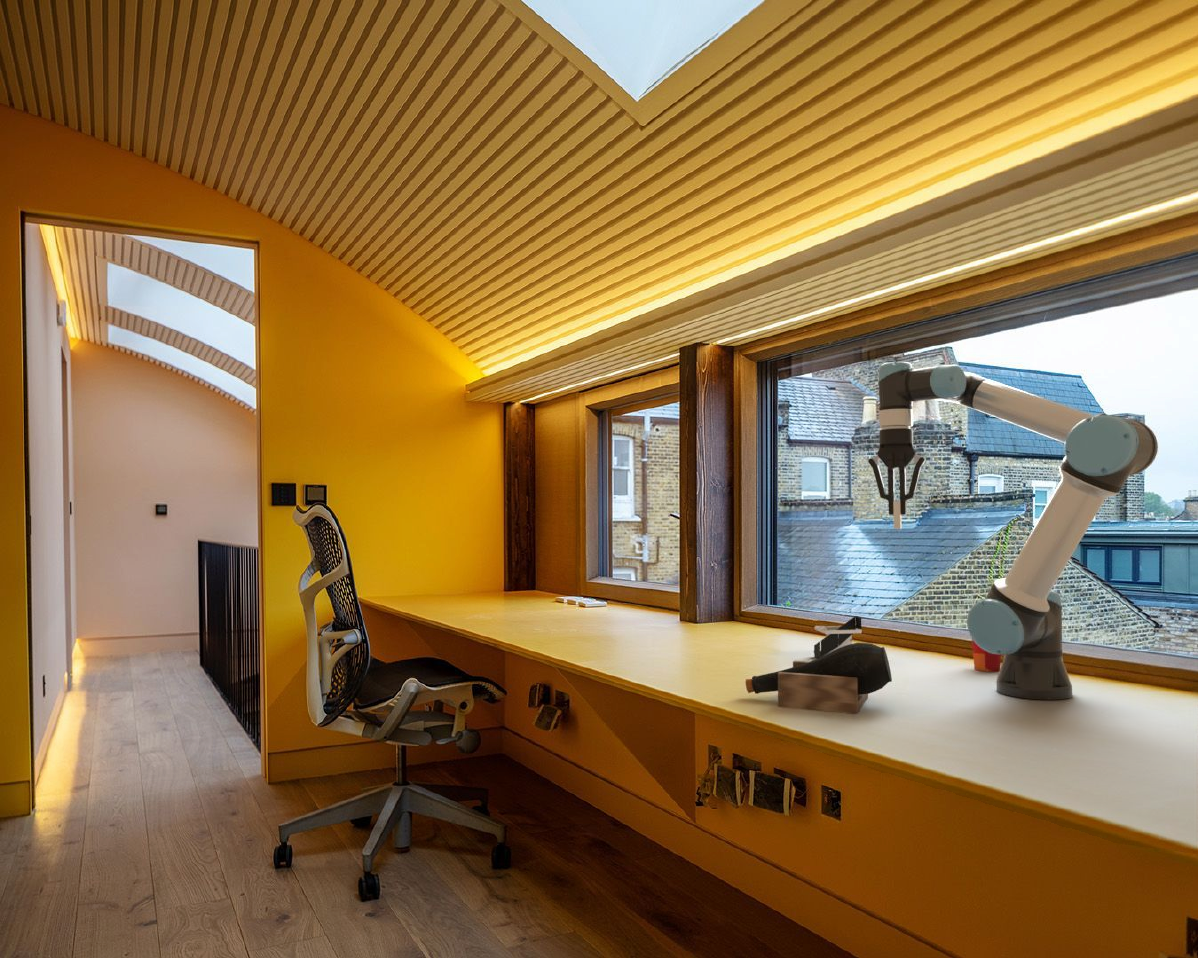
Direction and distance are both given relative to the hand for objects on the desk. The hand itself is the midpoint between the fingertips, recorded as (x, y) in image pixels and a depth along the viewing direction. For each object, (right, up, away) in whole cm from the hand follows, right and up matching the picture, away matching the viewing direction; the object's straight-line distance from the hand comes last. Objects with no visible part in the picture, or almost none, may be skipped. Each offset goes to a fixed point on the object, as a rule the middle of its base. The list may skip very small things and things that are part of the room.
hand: (897, 528), depth 207 cm
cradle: (-22, -36, -18) cm, 46 cm away
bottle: (-10, -27, -24) cm, 37 cm away
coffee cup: (+28, -37, +17) cm, 50 cm away
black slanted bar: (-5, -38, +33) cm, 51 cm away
